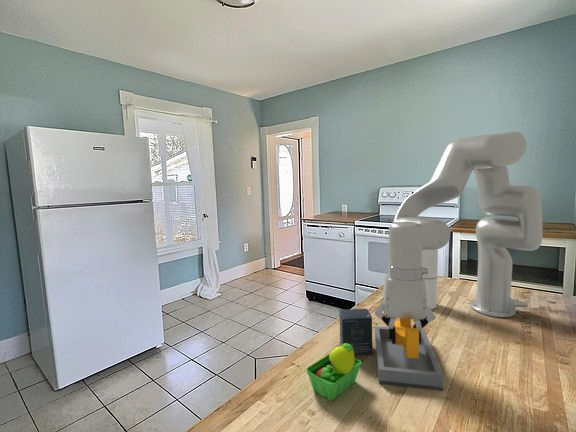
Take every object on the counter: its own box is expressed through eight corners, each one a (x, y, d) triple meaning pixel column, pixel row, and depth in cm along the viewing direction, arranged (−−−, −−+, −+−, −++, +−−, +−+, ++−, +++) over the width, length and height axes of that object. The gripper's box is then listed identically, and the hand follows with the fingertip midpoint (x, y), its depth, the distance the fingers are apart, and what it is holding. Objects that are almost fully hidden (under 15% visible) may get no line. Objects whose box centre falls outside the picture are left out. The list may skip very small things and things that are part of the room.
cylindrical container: (437, 303, 112) (439, 235, 108) (435, 310, 106) (436, 239, 102) (416, 299, 115) (417, 233, 112) (412, 306, 109) (413, 237, 106)
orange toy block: (391, 331, 84) (391, 309, 83) (408, 332, 83) (408, 309, 82) (399, 357, 72) (399, 331, 71) (418, 358, 71) (419, 332, 71)
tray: (424, 341, 87) (424, 329, 86) (442, 390, 67) (443, 375, 67) (374, 337, 90) (374, 326, 89) (378, 383, 70) (378, 369, 70)
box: (367, 343, 87) (367, 307, 85) (372, 355, 81) (372, 317, 80) (339, 344, 87) (339, 308, 86) (343, 356, 81) (342, 318, 80)
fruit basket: (336, 367, 77) (335, 324, 75) (367, 384, 70) (367, 337, 69) (305, 390, 69) (303, 343, 67) (336, 411, 62) (335, 359, 61)
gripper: (438, 268, 77) (436, 337, 79) (368, 266, 81) (369, 332, 83) (446, 278, 70) (444, 353, 72) (369, 275, 74) (369, 347, 76)
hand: (404, 341), depth 78 cm, fingers closed on orange toy block, 4 cm apart
